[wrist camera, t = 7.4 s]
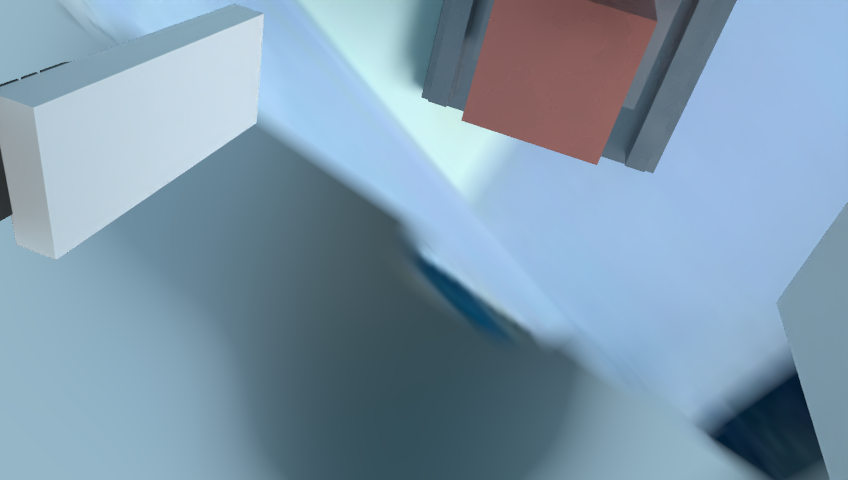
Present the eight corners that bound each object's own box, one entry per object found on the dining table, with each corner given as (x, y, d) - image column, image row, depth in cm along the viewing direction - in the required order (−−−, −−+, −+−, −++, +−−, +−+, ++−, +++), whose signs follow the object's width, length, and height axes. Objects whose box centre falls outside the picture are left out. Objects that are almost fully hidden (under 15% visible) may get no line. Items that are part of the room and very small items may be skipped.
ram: (530, -134, 27) (479, -136, 18) (711, -84, 26) (751, -60, 17) (480, 49, 32) (419, 120, 23) (633, 97, 31) (633, 191, 22)
